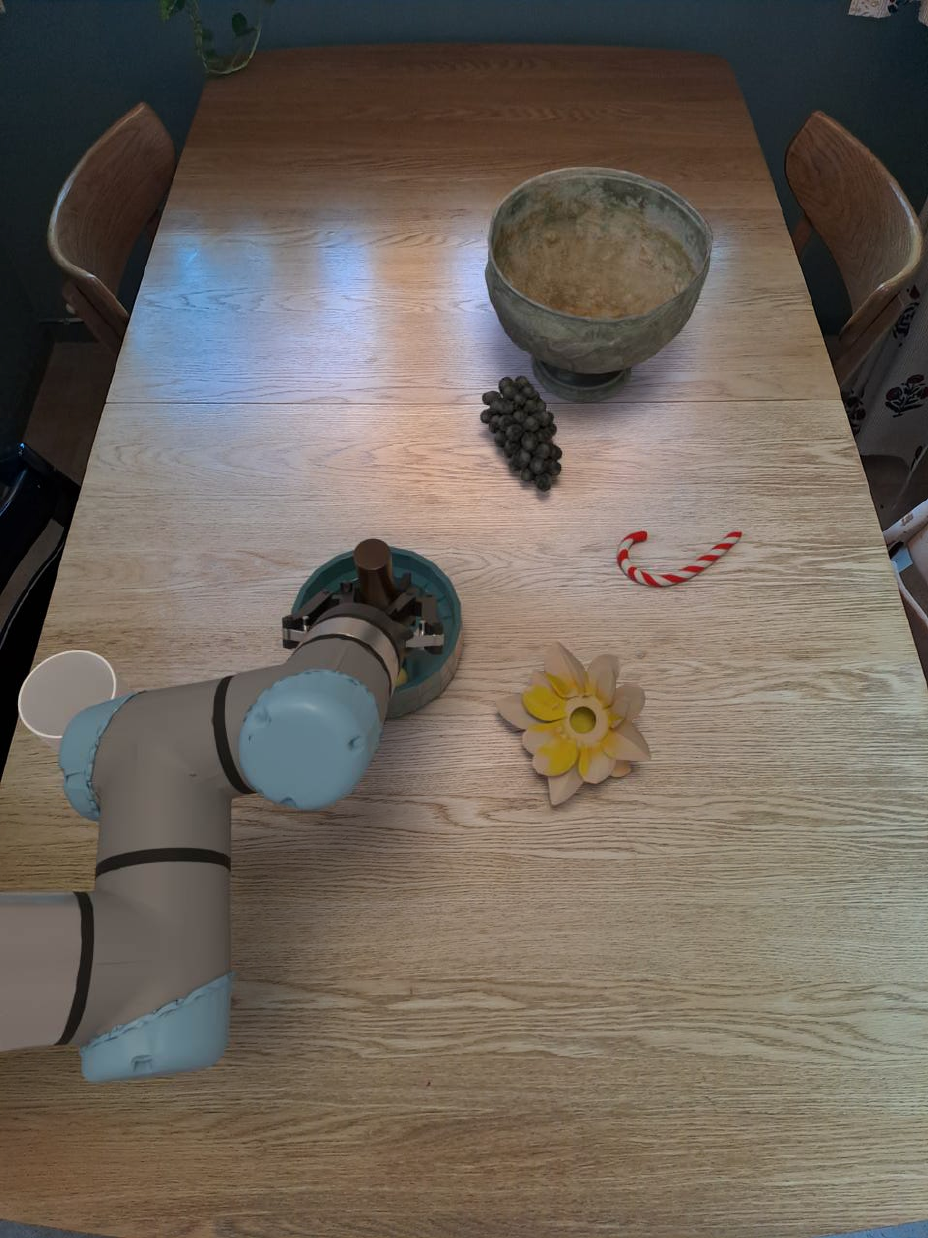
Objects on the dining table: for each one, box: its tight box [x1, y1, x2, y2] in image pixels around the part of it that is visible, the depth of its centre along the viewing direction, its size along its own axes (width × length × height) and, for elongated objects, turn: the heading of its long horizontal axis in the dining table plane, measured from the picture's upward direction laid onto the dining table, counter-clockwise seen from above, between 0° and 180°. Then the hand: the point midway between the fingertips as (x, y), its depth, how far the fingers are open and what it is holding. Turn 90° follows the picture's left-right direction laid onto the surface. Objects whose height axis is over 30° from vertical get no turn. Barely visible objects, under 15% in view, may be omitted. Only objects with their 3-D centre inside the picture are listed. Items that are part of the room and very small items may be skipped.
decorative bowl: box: [484, 166, 714, 403], centre depth 102 cm, size 26×26×20 cm
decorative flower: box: [495, 640, 652, 806], centre depth 82 cm, size 15×11×10 cm
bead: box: [395, 668, 408, 687], centre depth 87 cm, size 3×3×3 cm
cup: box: [17, 649, 136, 754], centre depth 78 cm, size 8×8×16 cm
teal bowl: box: [290, 545, 463, 719], centre depth 88 cm, size 17×17×6 cm
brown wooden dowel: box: [353, 538, 406, 663], centre depth 80 cm, size 3×3×20 cm
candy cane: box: [616, 528, 743, 587], centre depth 96 cm, size 8×1×15 cm
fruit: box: [479, 375, 564, 493], centre depth 100 cm, size 9×8×15 cm
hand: (387, 585), depth 83 cm, fingers closed on brown wooden dowel, 3 cm apart
